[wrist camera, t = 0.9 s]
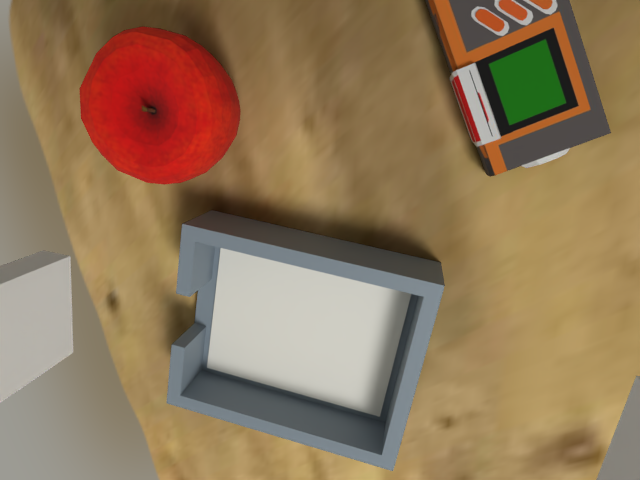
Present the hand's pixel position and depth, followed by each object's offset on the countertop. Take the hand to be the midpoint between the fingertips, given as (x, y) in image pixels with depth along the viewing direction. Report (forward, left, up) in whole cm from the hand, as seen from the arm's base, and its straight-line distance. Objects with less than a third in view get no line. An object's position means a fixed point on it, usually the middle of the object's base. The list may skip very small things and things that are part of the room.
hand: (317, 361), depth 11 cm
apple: (-4, -14, -22) cm, 26 cm away
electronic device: (-11, +5, -22) cm, 25 cm away
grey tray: (+10, -4, -22) cm, 24 cm away
